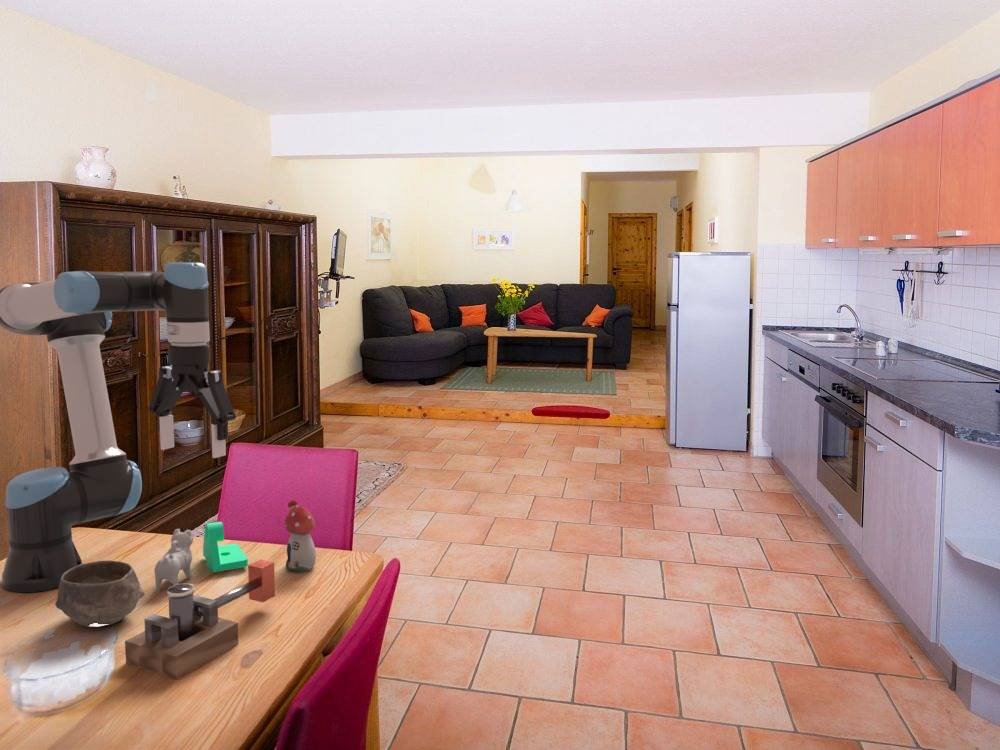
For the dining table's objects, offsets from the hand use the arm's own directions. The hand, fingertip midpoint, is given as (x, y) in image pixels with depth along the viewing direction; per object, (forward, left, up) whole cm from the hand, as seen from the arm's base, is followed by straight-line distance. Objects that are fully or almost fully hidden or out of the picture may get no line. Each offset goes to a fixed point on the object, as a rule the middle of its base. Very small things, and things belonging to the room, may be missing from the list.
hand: (192, 452), depth 153 cm
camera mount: (-12, +19, -32) cm, 39 cm away
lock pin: (+12, -2, -29) cm, 32 cm away
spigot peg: (+12, -15, -32) cm, 37 cm away
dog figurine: (-14, +7, -32) cm, 36 cm away
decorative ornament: (+4, +26, -32) cm, 41 cm away
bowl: (-12, -13, -32) cm, 37 cm away
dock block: (+12, -15, -32) cm, 37 cm away
